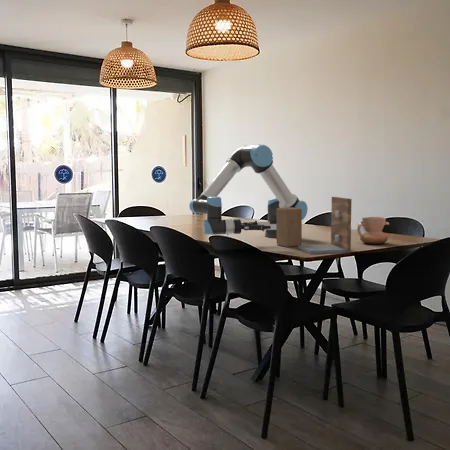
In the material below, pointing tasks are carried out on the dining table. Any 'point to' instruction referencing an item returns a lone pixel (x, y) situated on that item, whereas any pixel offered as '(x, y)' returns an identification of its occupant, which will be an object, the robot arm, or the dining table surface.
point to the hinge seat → (321, 249)
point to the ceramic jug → (373, 230)
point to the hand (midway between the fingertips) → (272, 225)
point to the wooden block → (289, 226)
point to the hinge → (361, 228)
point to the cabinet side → (341, 223)
